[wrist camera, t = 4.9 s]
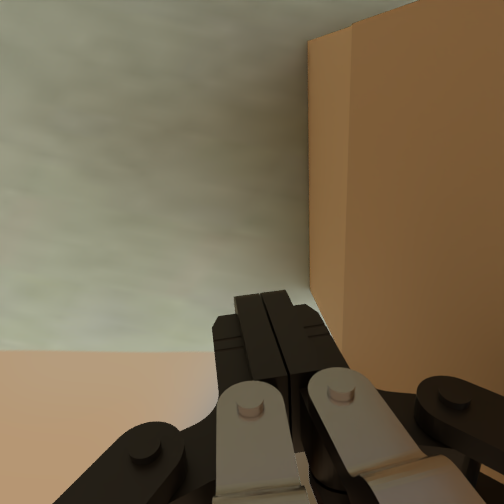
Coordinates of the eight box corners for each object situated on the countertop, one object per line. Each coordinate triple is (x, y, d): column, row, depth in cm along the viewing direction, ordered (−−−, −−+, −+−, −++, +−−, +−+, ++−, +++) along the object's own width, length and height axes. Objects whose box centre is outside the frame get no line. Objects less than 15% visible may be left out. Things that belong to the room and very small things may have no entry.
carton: (526, 25, 23) (673, 2, 16) (480, 270, 30) (569, 333, 22) (307, 41, 22) (356, 24, 15) (309, 289, 29) (344, 361, 22)
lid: (1049, -198, 3) (979, -195, 3) (541, 725, 9) (517, 730, 9) (367, 22, 15) (352, 23, 15) (352, 365, 21) (341, 366, 21)
